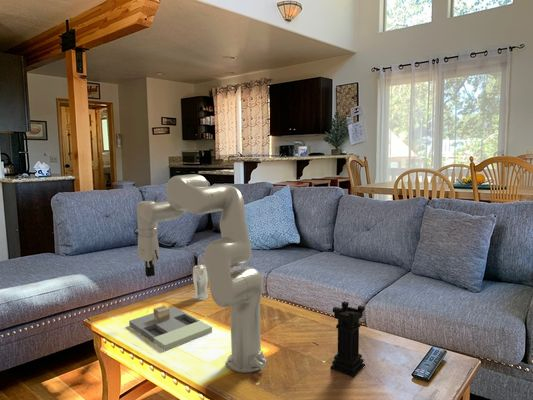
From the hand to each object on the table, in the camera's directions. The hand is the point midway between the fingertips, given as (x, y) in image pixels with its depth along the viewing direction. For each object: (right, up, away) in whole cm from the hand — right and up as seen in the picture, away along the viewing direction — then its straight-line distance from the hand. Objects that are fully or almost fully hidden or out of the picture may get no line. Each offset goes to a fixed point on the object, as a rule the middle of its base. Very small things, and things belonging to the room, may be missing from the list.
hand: (150, 275), depth 166 cm
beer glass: (+17, -15, +24) cm, 33 cm away
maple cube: (+6, -17, -3) cm, 18 cm away
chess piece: (+73, -23, -37) cm, 85 cm away
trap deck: (+10, -19, -7) cm, 23 cm away
